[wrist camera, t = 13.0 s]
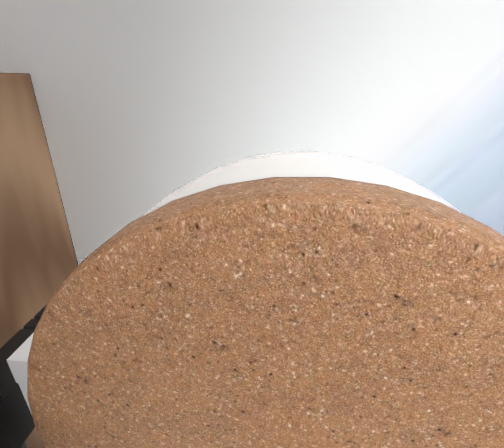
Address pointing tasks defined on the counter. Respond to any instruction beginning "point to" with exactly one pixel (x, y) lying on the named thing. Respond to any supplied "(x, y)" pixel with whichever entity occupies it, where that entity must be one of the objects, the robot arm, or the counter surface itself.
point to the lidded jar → (280, 318)
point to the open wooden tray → (28, 215)
